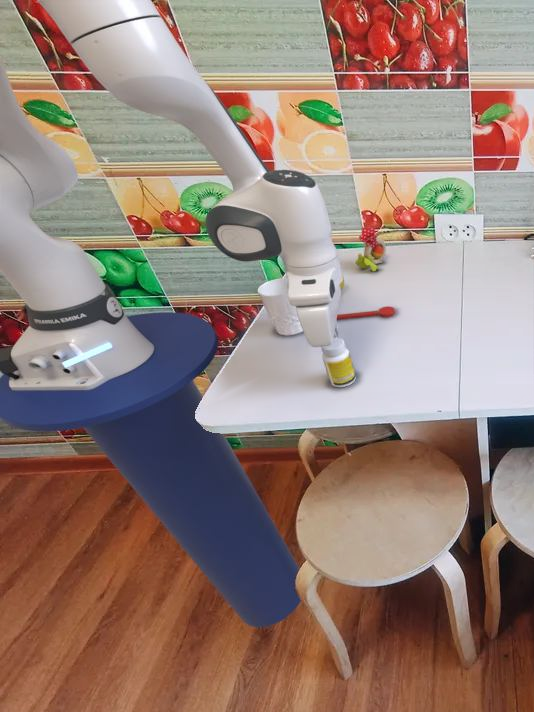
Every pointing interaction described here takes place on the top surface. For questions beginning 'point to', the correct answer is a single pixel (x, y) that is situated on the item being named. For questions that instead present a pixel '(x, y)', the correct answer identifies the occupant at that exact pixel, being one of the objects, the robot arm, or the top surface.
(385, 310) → the spoon
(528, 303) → the top surface
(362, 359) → the top surface
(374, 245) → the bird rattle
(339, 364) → the supplement bottle
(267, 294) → the white cup
